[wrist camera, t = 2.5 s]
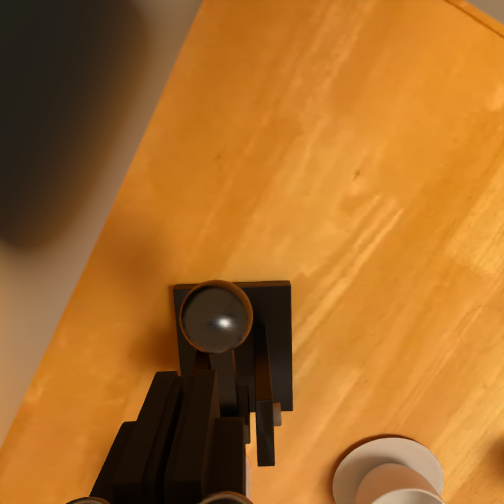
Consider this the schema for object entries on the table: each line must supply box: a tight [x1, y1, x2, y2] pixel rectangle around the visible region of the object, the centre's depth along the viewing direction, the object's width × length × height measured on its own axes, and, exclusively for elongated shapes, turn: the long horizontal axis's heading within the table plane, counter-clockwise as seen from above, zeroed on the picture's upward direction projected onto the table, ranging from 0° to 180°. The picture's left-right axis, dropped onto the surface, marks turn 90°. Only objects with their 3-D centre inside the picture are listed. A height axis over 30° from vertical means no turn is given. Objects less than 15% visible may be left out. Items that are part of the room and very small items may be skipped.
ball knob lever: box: [179, 280, 253, 444], centre depth 21 cm, size 13×3×3 cm
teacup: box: [332, 438, 445, 504], centre depth 35 cm, size 10×10×5 cm
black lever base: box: [173, 281, 293, 467], centre depth 28 cm, size 11×9×11 cm
